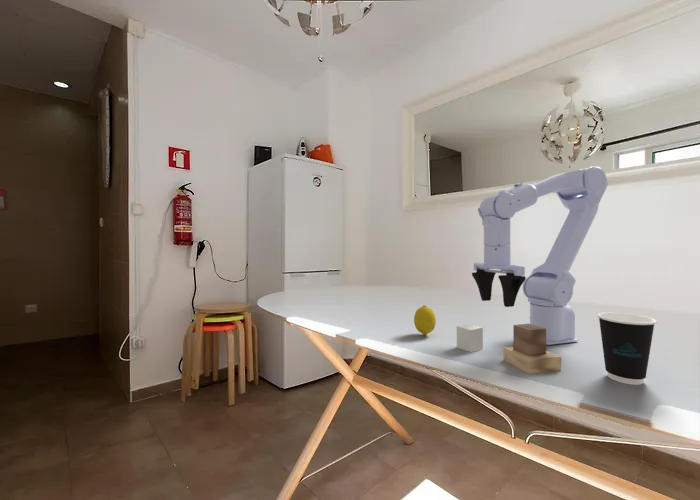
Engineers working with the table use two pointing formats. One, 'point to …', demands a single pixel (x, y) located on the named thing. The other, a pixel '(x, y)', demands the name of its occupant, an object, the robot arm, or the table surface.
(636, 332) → the dixie cup
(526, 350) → the walnut block
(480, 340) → the grey block
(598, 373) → the table surface
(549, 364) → the oak slab
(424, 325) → the lemon
